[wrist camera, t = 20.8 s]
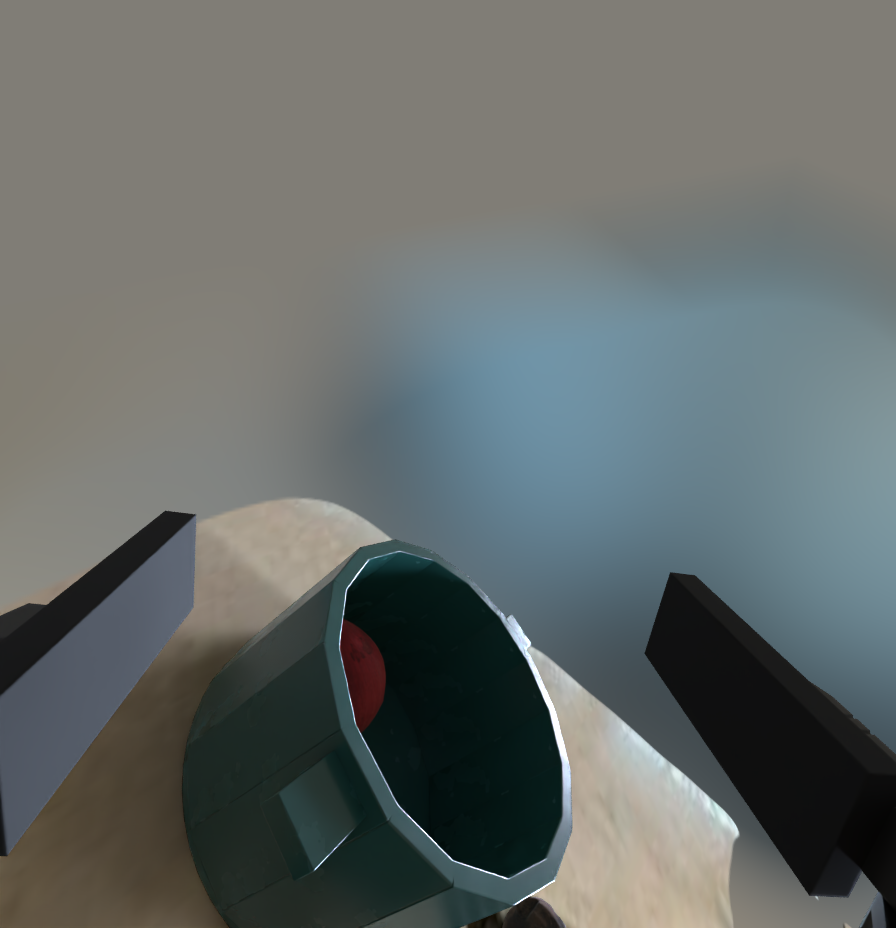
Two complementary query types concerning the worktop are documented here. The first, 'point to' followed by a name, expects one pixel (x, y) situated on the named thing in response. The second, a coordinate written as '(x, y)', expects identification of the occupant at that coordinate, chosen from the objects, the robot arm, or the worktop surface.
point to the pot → (378, 760)
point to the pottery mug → (532, 915)
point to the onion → (362, 673)
